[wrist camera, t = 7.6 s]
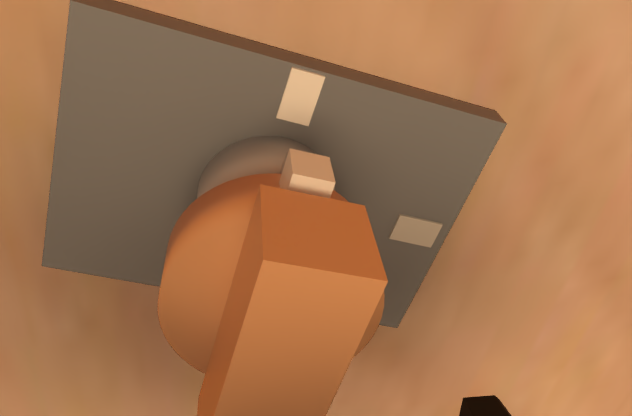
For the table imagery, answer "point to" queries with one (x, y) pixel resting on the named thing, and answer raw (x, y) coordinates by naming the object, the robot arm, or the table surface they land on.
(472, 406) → the robot arm
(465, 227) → the table surface
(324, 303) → the bayonet cap
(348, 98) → the post base
